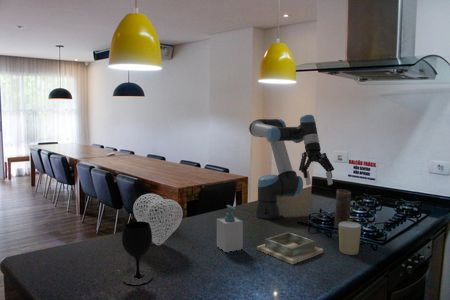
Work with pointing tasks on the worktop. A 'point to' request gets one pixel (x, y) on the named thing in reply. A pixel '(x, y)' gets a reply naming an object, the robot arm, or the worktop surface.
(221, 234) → the soap bottle
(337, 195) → the candle
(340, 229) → the coffee cup
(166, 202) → the heart
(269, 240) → the square tray
